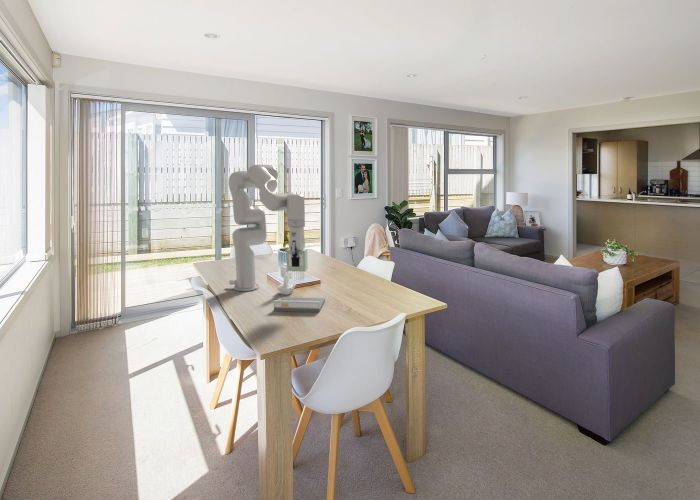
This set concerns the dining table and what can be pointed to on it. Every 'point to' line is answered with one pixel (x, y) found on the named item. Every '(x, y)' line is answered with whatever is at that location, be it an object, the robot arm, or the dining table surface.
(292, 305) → the grey flat box
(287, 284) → the figurine
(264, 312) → the dining table surface
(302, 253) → the tea box
